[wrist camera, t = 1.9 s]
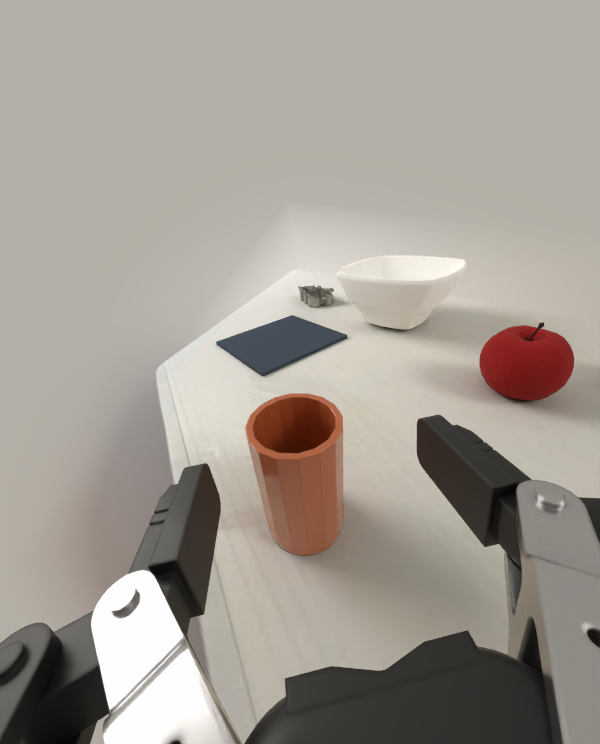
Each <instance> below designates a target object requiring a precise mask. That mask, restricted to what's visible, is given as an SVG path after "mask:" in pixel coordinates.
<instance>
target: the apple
mask: <svg viewBox="0 0 600 744" xmlns="http://www.w3.org/2000/svg"><path fill="white" fill-rule="evenodd" d="M543 326H544V322H543V323H540V324H539V326H538V328H536V327H531V326H514V327H510V328H507V329H505V330H503V331H501V332H499V333H497V334H496V335H494V336H493V337H491V338H490V340H489V341H488V342H487V343H486V344H485V345H484V347H483V349H482V351H481V354H480V369H481V373H482V376H483V378H484V379H485V381H486V383H487V384H488V385H489V386H490V387H491V388H492V389H494V390H495V391H497V392H498V393H500V394H501V395H504V396H506V397H510V398H515V399H522V400H540V399H543V398H546V397H548V396H550V395H551V394H553V393H555V392H557V391H558V390H559V389H561V388H562V387H563V386H564V385H565V384H566V382H567V381H568V379H569V378H570V376H571V374H572V371H573V366H574V355H573V351H572V349H571V347H570V345H569V343H568V342H567V341H566V340H565V338H564V337H562V336H560V335H559V334H557V333H554V332H551V331H548V330H544V329H541V328H542V327H543Z"/></svg>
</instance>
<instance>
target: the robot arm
mask: <svg viewBox="0 0 600 744" xmlns="http://www.w3.org/2000/svg"><path fill="white" fill-rule="evenodd" d="M417 456H418V459H419V462H420V464H421V466H422V468H423V469H424V470H425V472H426V473H427V474H428V475H429V477H430V478H431V479H432V480H433V482H434V483H435V484H436V486H437V487H438V488H439V489H440V491H441V492H442V493H443V494H444V496H445V497H446V498H447V500H448V501H449V502H450V503H451V505H452V506H453V507H454V509H455V510H456V511H457V512H458V514H459V515H460V516H461V517H462V519H463V520H464V521H465V523H466V524H467V525H468V526H469V528H470V529H471V530H472V531H473V533H474V534H475V535H476V537H477V538H478V539H479V540H480V542H481V543H482V544H483V545H484V547H487V546H491V545H496V544H500V545H501V547H502V548H503V549H504V550H505V554H504V564H505V576H506V589H507V602H508V615H509V641H508V655H506V654H503V653H501V652H498V651H495V650H491V649H487V648H483V647H477V646H476V644H475V642H474V641H473V639H472V637H471V635H470V634H469V632H468V630H467V631H464V632H460V633H456V634H452V635H448V636H445V637H441V638H437V639H433V640H429V641H426V642H423V643H422V644H421V645H419V646H418V647H416V648H415V649H414V650H412V651H411V652H410V653H408V654H407V655H405V656H404V657H403V658H401V659H400V660H399V661H397V662H396V663H394V664H393V665H392V666H390V667H389V668H387V669H386V670H383V671H374V670H363V669H353V668H343V667H333V666H331V667H327V668H323V669H319V670H316V671H312V672H308V673H304V674H300V675H297V676H293V677H289V678H285V687H286V697H285V698H283V699H282V700H280V701H279V702H278V703H277V704H276V705H275V706H273V707H272V708H271V709H270V710H269V711H268V712H267V713H266V714H265V716H264V717H263V718H262V719H261V720H260V721H259V723H258V724H257V725H256V727H255V728H254V730H253V731H252V733H251V734H250V736H249V737H248V739H247V740H246V742H245V744H600V499H599V498H579V497H577V496H576V495H574V494H573V493H572V492H570V491H568V490H567V489H565V488H563V487H561V486H558V485H556V484H553V483H550V482H546V481H540V480H531V479H530V478H529V477H528V476H527V475H525V474H524V473H523V472H522V471H520V470H519V469H518V468H517V467H515V466H514V465H513V464H512V463H510V462H509V461H508V460H507V459H505V458H504V457H503V456H502V455H500V454H499V453H498V452H497V451H495V450H493V448H492V447H491V446H489V445H488V444H487V443H486V442H485V443H484V442H483V440H482V439H481V438H479V437H478V436H477V435H476V434H474V433H473V432H472V431H470V430H467V429H465V428H463V427H461V426H459V425H452V424H450V423H449V422H448V421H447V420H446V419H445V418H443V417H442V416H441V415H434V416H430V417H425V418H420V419H418V421H417ZM220 510H221V506H220V497H219V493H218V491H217V488H216V485H215V482H214V479H213V476H212V474H211V471H210V468H209V466H208V464H207V463H205V464H200V465H195V466H191V467H186V468H184V470H183V472H182V475H181V477H180V480H179V483H178V484H176V485H171V486H170V487H169V489H168V490H167V491H166V492H165V493H164V495H163V496H162V497H161V498H160V500H159V502H158V504H157V507H156V509H155V512H154V513H155V514H154V515H153V516H152V519H151V521H150V523H149V524H150V526H148V528H147V530H146V533H145V535H144V537H143V540H142V542H141V544H140V547H139V549H138V552H137V554H136V556H135V559H134V561H133V563H132V566H131V568H130V570H129V573H128V575H126V576H124V577H123V578H121V579H120V580H118V581H117V582H116V583H115V584H114V585H112V586H111V587H110V588H109V589H108V590H107V591H106V593H105V594H104V595H103V596H102V598H101V599H100V600H99V602H98V604H97V606H96V608H95V610H94V611H92V612H90V613H88V614H87V615H85V616H83V617H81V618H79V619H77V620H75V621H74V622H72V623H70V624H68V625H66V626H64V627H63V628H61V629H59V630H57V631H55V632H53V631H52V630H51V629H50V627H49V626H48V625H46V624H44V623H34V624H31V625H28V626H26V627H24V628H22V629H20V630H18V631H17V632H15V633H13V634H12V635H10V636H9V637H8V638H6V639H5V640H4V641H2V642H1V643H0V744H90V742H91V739H92V735H93V733H94V729H95V726H96V723H97V721H98V720H99V719H101V718H103V717H104V716H106V715H107V714H109V716H108V718H106V719H105V721H104V724H103V734H104V735H103V736H104V743H105V744H242V742H241V740H240V738H239V736H238V734H237V732H236V730H235V728H234V727H233V725H232V723H231V721H230V719H229V717H228V715H227V713H226V711H225V709H224V708H223V706H222V704H221V702H220V700H219V698H218V696H217V694H216V692H215V690H214V688H213V686H212V684H211V682H210V680H209V678H208V676H207V674H206V672H205V670H204V668H203V666H202V664H201V662H200V660H199V658H198V656H197V654H196V652H195V650H194V648H193V646H192V644H191V642H190V640H189V638H188V636H187V632H188V627H189V622H190V618H191V617H195V616H200V615H204V610H205V604H206V598H207V592H208V586H209V579H210V573H211V567H212V561H213V555H214V548H215V542H216V536H217V530H218V524H219V517H220Z"/></svg>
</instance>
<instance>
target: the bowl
mask: <svg viewBox="0 0 600 744" xmlns="http://www.w3.org/2000/svg"><path fill="white" fill-rule="evenodd" d="M466 268H467V264H466V262H465V260H463V259H456V258H446V257H432V256H404V255H397V256H396V255H392V256H391V255H387V256H377V257H372V258H367V259H364V260H361V261H357V262H354V263H352V264H349V265H347V266H345V267H343V268H341V269H340V270H339V271H338V272H337V275H336V277H337V279H338V281H339V283H340V285H341V287H342V288H343V290H344V292H345V294H346V296H347V298H348V300H349V301H350V302H352V303H355V304H356V305H357V308H358V310H359V312H360V314H361V316H362V318H363V320H364V321H366V322H369V323H372V324H375V325H379V326H383V327H389V328H397V329H412V328H414V327H416V326H418V325H420V324H421V323H423V322H424V321H425V320H426V319H427V317H428V316H429V314H430V313H431V311H432V310H433V308H434V307H435V306H437V305H439V304H440V303H442V302H443V301H444V300H445V299H446V298H447V296H448V295H449V293H450V292H451V291H452V289H453V288H454V286H455V285H456V283H457V282H458V281H459V279H460V278H461V276H462V275H463V273H464V272H465V270H466Z"/></svg>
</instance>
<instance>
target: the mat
mask: <svg viewBox="0 0 600 744" xmlns="http://www.w3.org/2000/svg"><path fill="white" fill-rule="evenodd" d="M345 338H347V335H345V334H343V333H340V332H337V331H334V330H332V329H329V328H326V327H323V326H320V325H318V324H315V323H312V322H309V321H307V320H304V319H301V318H298V317H296V316H293V315H292V316H289V317H286V318H283V319H280V320H278V321H275V322H272V323H269V324H266V325H263V326H260V327H257V328H255V329H252V330H249V331H246V332H243V333H240V334H237V335H235V336H232V337H229V338H226V339H223V340H220V341H217V342H216V343H217V345H218V346H220V347H221V348H223V349H224V350H226V351H227V352H228V353H230V354H231V355H233V356H234V357H236V358H237V359H239V360H240V361H241V362H243V363H244V364H246V365H247V366H249V367H250V368H251V369H253V370H254V371H256V372H257V373H259V374H260V375H262V376H265V375H267V374H269V373H271V372H273V371H275V370H278V369H280V368H282V367H284V366H286V365H289V364H291V363H293V362H295V361H297V360H299V359H302V358H304V357H306V356H308V355H310V354H313V353H315V352H317V351H319V350H321V349H324V348H326V347H328V346H330V345H332V344H334V343H337V342H339V341H341V340H343V339H345Z"/></svg>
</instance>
